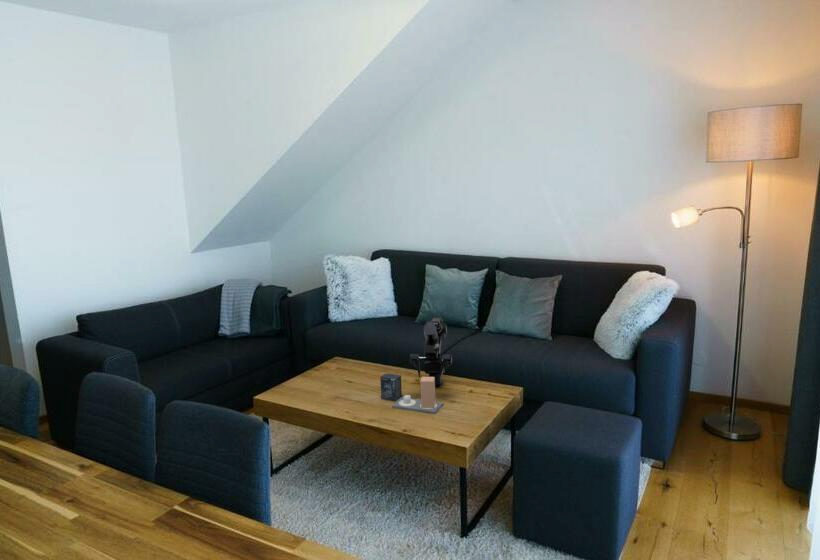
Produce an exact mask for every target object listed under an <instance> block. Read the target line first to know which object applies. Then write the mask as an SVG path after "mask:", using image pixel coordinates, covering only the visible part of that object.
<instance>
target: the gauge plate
mask: <svg viewBox="0 0 820 560" xmlns="http://www.w3.org/2000/svg"><path fill="white" fill-rule="evenodd" d="M411 397H412V396H411V395H410V394H405V395H403V396H402V397H401V398H400V399H398V400H397V401H395V402H394V403H393V404H392V405H391V407H392V409H399V410H405V411H406V410H407V411H412V412H419V413H427V414H433V415H436V414H437V413H438V412H439V410H441V408H442V407H443V406H444V402H442V401H441V402H440V401H435V407H434V408H421V398H419V399H417V398H411Z"/></svg>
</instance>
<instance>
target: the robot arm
mask: <svg viewBox="0 0 820 560" xmlns="http://www.w3.org/2000/svg"><path fill="white" fill-rule="evenodd" d="M447 327H448V326H447V324H446V323H445V321H444V320H443V317H436V316H434V317H431V320H426V321H425V323H424V324H423V334H424V338H425V345H424V346H423V356H420V355H419V353H417V354H416V353H410V355H409V362H410V365H412V366H413V367H415V368H416V370H417V373H418V374H417V375H418V378H421V363H420V362H424V374H428V377H435V388H440V387H441V386H442V385H443V384H444V381H442V377H443V374H444V373H446V371H445V370H446V369H447V368H448V367H450V366H452V365H453V358H452V357H453V356H452V354H442V355H441V347H442V341H444V340H445V339H446V336H447V335H448V329H447Z"/></svg>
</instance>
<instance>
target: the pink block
mask: <svg viewBox="0 0 820 560" xmlns="http://www.w3.org/2000/svg"><path fill="white" fill-rule="evenodd" d="M419 386H420V400H421V408H434V407H435V402H436V387H435V377H429V376H421V377H420V385H419Z"/></svg>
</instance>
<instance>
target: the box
mask: <svg viewBox="0 0 820 560" xmlns="http://www.w3.org/2000/svg"><path fill="white" fill-rule="evenodd" d="M379 379H380V398H381V399H384V400H388V401H389V400H390V401H393V402H397V401H398V400H399V399H400V398H401V397H403V396H402V393H403V392H402V375H399V374H394V373H388V372H386V373H384V374H382V375H381V376H380V378H379Z"/></svg>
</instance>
